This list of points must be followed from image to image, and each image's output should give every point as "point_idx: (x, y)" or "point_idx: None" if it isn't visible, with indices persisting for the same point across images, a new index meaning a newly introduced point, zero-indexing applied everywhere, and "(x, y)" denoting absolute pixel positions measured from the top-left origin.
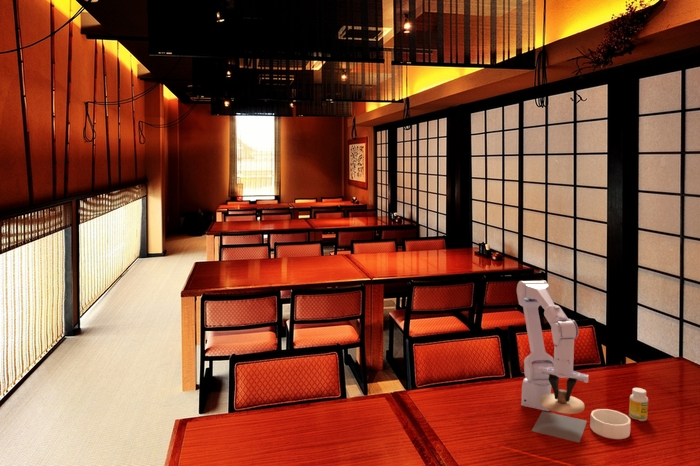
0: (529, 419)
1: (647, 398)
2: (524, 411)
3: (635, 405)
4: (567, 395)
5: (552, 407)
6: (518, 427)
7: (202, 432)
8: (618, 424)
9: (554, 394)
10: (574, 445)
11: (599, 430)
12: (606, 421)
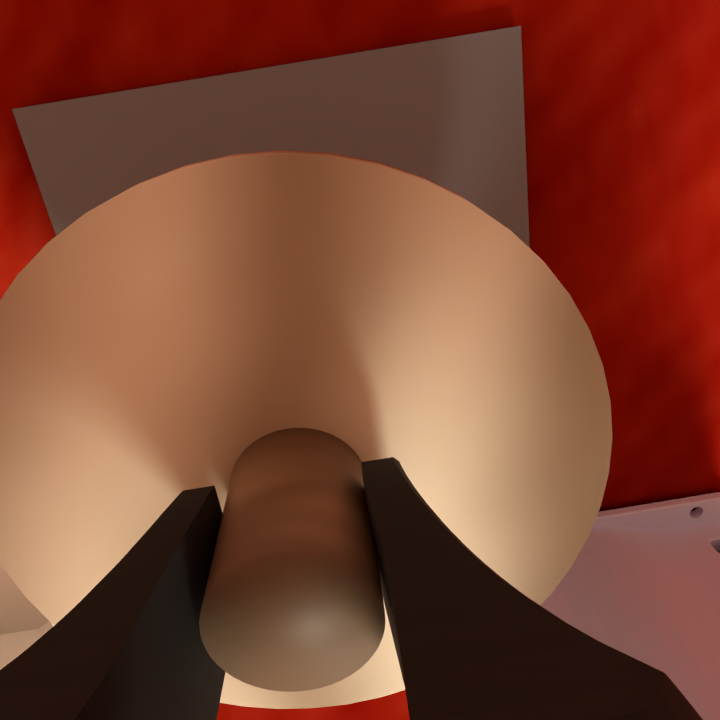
0: (603, 302)
1: None
2: (677, 420)
3: None
4: (159, 548)
5: (346, 197)
6: (665, 49)
7: None
8: None
9: (412, 489)
10: (40, 38)
11: None
12: (38, 631)
